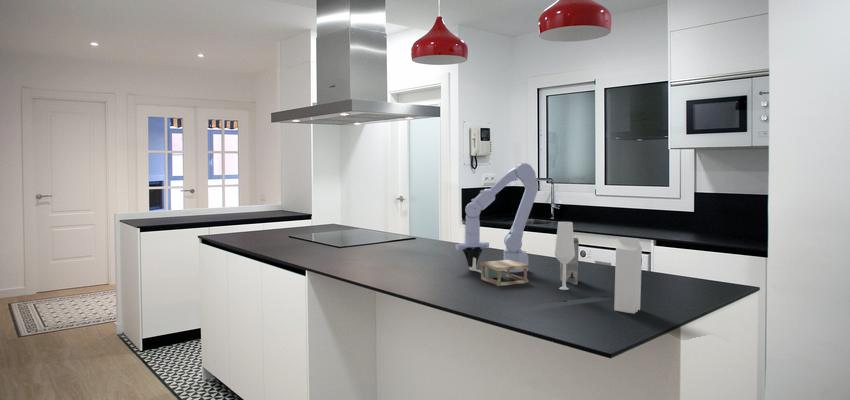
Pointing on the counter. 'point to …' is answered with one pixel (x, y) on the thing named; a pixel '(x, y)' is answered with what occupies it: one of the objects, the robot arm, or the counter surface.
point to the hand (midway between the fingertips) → (472, 266)
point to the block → (488, 271)
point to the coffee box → (571, 266)
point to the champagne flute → (564, 247)
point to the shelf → (498, 282)
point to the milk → (628, 275)
